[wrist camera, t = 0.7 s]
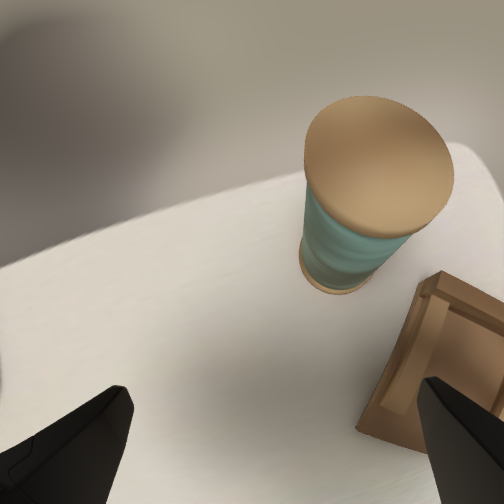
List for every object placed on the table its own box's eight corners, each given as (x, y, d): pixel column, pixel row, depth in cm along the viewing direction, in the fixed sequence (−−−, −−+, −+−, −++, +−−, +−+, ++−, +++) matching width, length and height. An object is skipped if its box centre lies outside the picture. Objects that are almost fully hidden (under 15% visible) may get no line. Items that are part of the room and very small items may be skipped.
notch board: (474, 464, 16) (498, 478, 12) (355, 427, 19) (368, 444, 15) (524, 336, 18) (554, 332, 14) (419, 283, 21) (441, 270, 17)
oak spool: (388, 266, 22) (479, 180, 9) (327, 310, 21) (374, 261, 9) (345, 207, 23) (384, 80, 11) (284, 245, 23) (273, 132, 11)
